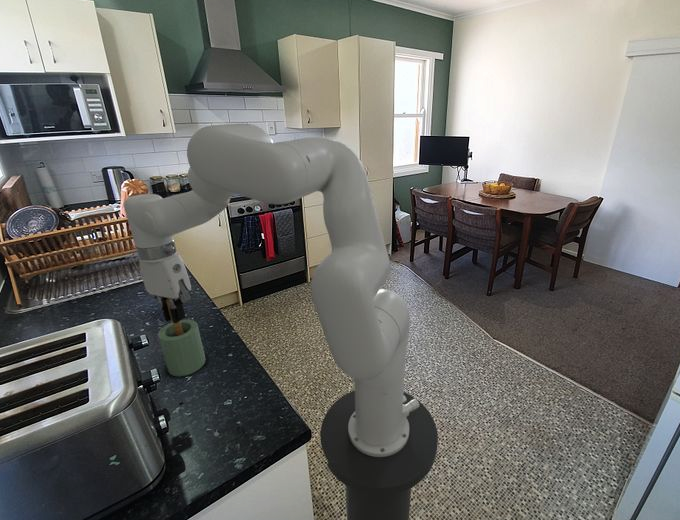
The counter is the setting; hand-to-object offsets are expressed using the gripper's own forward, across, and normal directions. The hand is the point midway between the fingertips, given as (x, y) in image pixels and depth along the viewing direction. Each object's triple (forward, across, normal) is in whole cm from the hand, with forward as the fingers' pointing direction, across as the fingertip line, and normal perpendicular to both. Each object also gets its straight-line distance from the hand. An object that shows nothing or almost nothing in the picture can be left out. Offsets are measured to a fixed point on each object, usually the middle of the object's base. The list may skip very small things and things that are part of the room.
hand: (175, 318), depth 85 cm
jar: (+14, 0, 0) cm, 14 cm away
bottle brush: (+11, 0, 0) cm, 11 cm away
